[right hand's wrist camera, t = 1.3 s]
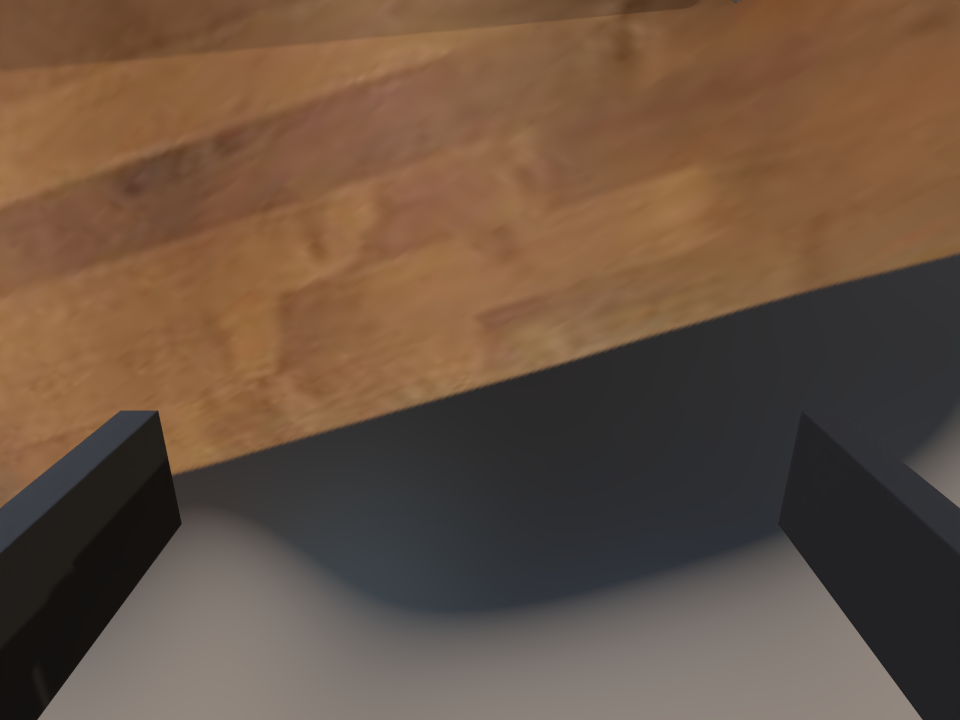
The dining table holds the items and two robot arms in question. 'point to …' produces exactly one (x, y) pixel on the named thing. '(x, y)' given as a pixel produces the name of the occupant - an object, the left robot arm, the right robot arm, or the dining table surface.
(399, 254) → the dining table surface
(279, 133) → the dining table surface
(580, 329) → the dining table surface
